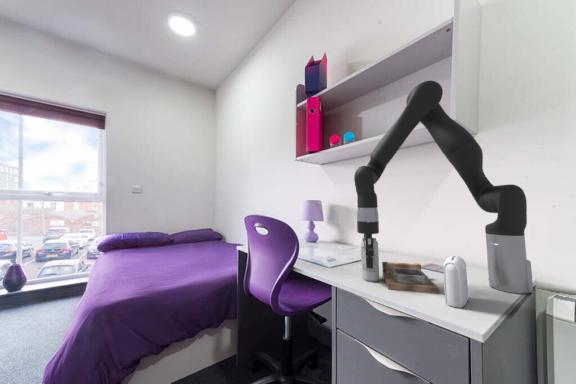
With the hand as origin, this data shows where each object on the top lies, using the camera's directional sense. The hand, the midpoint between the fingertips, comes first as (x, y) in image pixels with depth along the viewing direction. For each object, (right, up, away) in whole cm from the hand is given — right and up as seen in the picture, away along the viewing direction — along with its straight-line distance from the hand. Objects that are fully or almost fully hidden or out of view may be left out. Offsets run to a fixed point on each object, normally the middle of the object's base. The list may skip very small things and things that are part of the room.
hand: (368, 264), depth 82 cm
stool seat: (+11, -5, -6) cm, 14 cm away
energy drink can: (0, -6, -1) cm, 6 cm away
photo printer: (+17, -4, -20) cm, 27 cm away
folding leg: (+13, -5, +2) cm, 14 cm away
